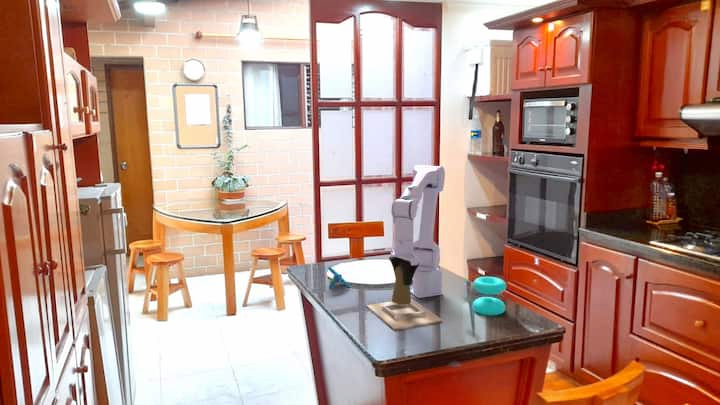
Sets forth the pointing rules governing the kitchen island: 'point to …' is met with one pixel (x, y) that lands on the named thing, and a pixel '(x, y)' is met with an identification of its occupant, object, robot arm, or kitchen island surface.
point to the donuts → (489, 303)
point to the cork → (401, 289)
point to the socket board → (403, 314)
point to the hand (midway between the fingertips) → (403, 281)
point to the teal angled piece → (336, 278)
